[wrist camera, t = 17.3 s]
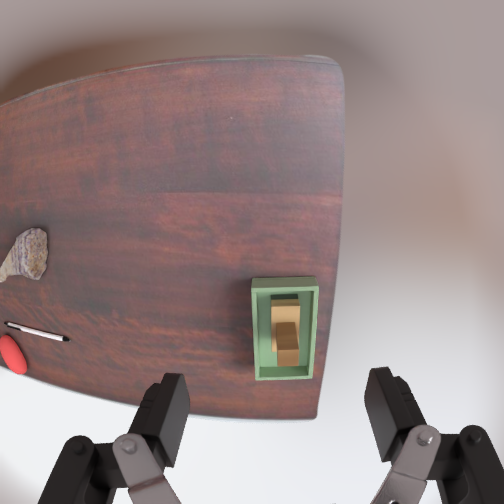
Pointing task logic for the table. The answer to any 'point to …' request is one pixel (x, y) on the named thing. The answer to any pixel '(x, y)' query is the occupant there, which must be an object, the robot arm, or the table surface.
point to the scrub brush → (285, 328)
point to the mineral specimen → (26, 256)
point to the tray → (262, 326)
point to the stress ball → (12, 355)
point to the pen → (36, 332)
